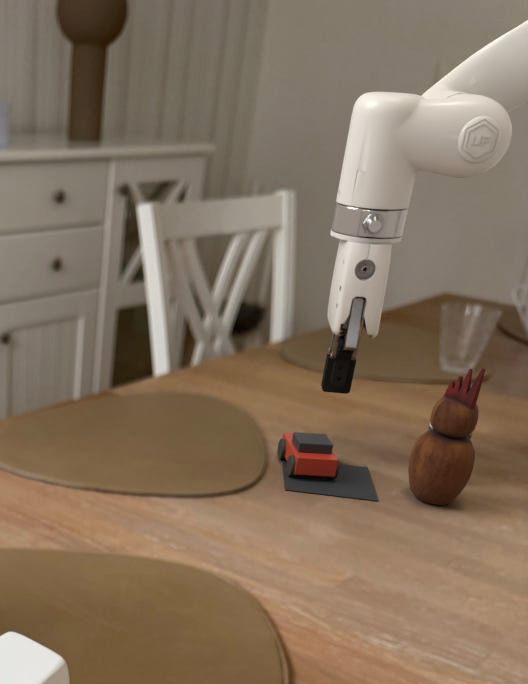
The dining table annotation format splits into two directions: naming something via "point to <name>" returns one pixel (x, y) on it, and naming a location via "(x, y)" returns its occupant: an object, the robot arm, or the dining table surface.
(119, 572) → the dining table surface
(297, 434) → the toy car
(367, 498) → the mat
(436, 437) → the wooden figurine
